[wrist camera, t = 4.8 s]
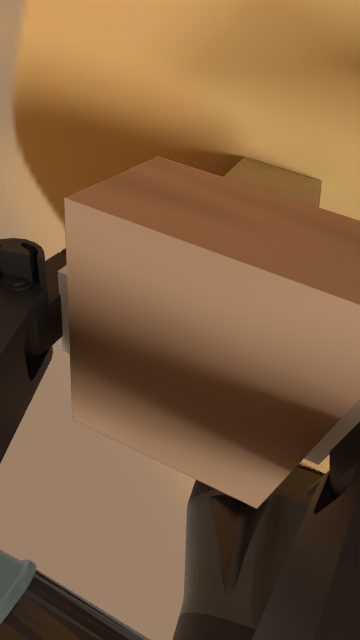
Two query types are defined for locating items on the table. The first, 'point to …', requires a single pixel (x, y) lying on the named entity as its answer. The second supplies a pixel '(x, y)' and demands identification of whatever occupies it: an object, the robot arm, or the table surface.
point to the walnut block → (211, 322)
